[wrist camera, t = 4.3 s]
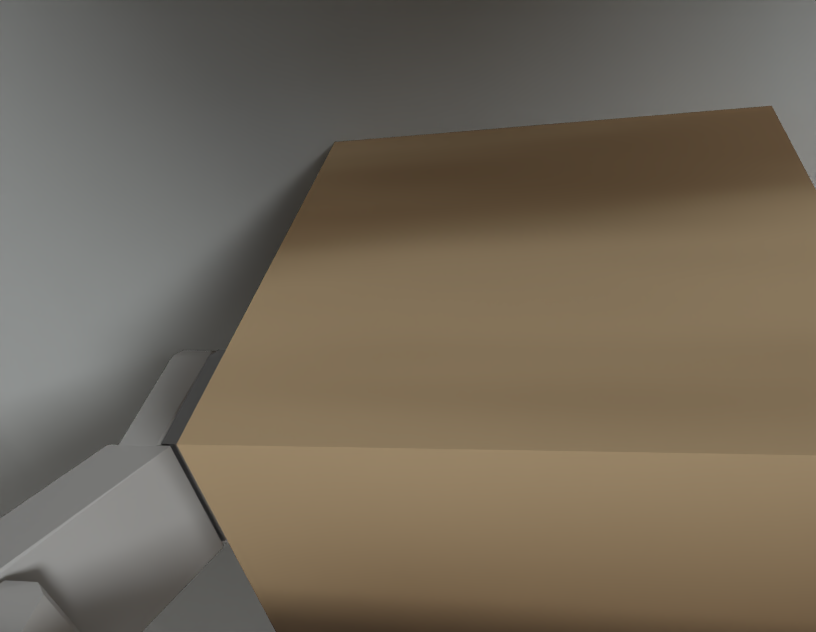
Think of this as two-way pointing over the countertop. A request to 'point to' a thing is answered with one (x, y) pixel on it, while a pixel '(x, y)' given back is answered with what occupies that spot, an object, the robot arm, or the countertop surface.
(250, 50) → the countertop surface
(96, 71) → the countertop surface
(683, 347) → the maple block
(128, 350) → the countertop surface
